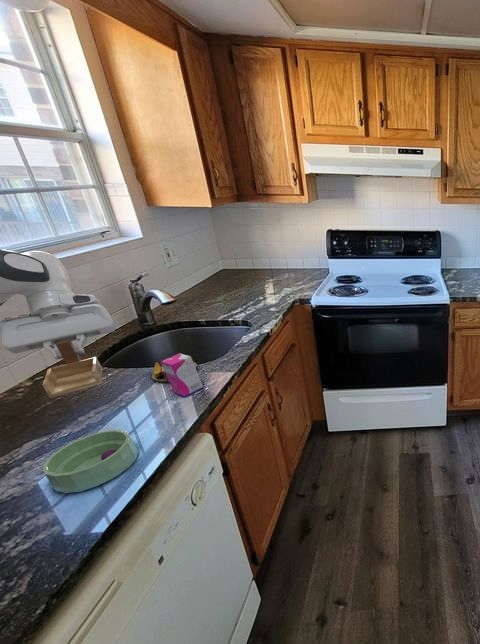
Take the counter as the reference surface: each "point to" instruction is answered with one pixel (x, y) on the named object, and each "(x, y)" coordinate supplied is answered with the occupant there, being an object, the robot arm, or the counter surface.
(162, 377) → the toy sandwich meal
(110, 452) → the ball
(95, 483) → the bowl
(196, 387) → the supplement box
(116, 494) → the counter surface
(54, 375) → the scoop
